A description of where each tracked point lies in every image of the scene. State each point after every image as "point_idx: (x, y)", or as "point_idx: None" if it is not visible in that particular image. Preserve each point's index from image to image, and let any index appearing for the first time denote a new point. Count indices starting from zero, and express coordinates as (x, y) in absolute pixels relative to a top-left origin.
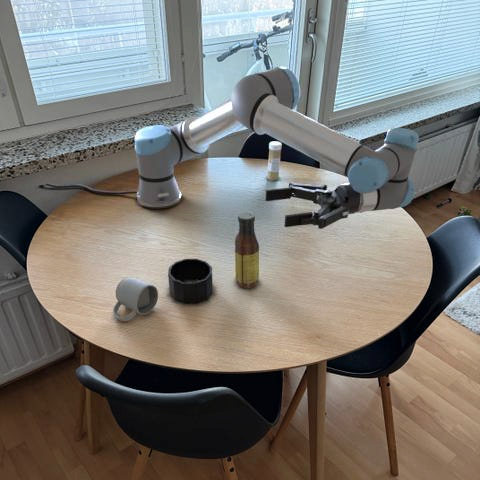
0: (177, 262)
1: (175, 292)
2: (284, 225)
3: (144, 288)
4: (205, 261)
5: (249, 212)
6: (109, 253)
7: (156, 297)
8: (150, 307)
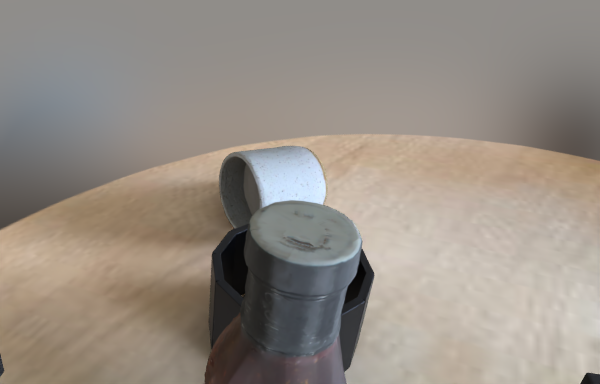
0: None
1: None
2: (1, 367)
3: (240, 157)
4: None
5: (339, 254)
6: (530, 229)
7: None
8: None
